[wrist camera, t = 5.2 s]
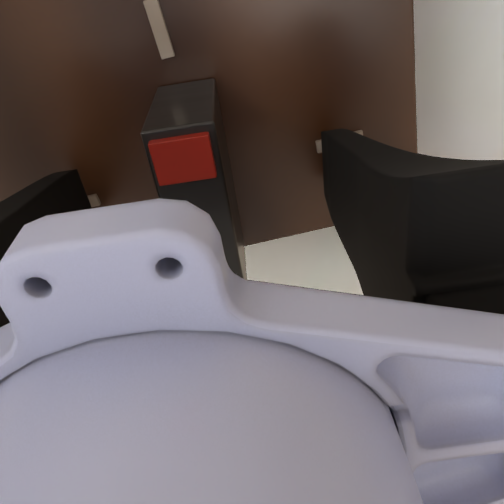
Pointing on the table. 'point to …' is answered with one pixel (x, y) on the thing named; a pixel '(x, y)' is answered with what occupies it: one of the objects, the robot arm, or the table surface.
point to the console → (200, 68)
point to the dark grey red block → (195, 158)
